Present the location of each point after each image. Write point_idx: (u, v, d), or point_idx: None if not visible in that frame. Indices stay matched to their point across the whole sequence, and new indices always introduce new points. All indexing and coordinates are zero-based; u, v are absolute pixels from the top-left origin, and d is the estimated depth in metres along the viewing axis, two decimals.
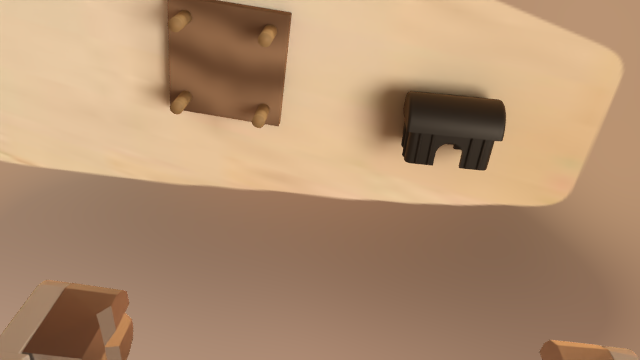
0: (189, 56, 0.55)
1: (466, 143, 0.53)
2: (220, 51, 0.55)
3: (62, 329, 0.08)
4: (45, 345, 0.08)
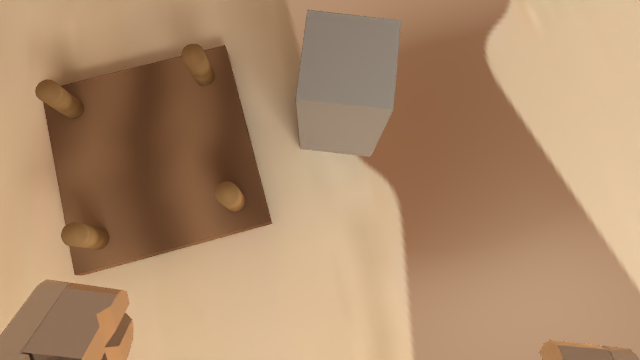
0: (144, 97, 0.34)
1: None
2: (171, 139, 0.34)
3: (62, 329, 0.08)
4: (45, 345, 0.08)
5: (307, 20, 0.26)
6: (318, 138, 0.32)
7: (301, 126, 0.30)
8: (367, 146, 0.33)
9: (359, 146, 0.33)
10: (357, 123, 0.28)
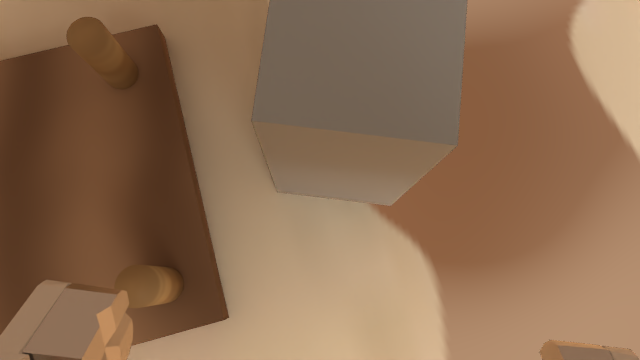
0: (21, 108, 0.21)
1: None
2: (62, 178, 0.20)
3: (62, 329, 0.08)
4: (45, 345, 0.08)
5: None
6: (305, 182, 0.19)
7: (273, 165, 0.17)
8: (389, 194, 0.19)
9: (375, 194, 0.20)
10: (377, 164, 0.15)
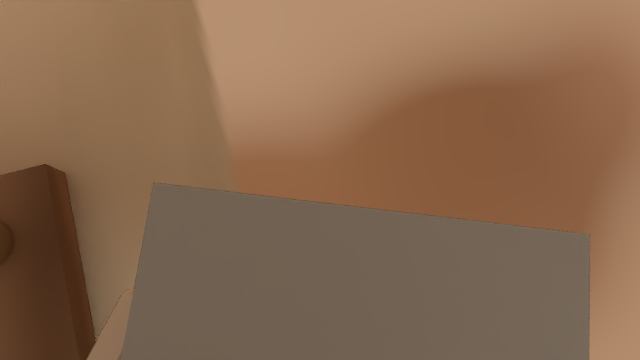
0: None
1: None
2: None
3: None
4: None
5: (150, 238, 0.06)
6: None
7: None
8: None
9: None
10: None
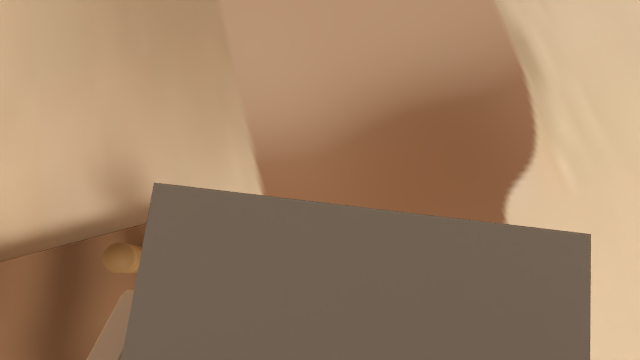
0: (62, 290, 0.26)
1: None
2: None
3: None
4: None
5: (150, 238, 0.06)
6: None
7: None
8: None
9: None
10: None
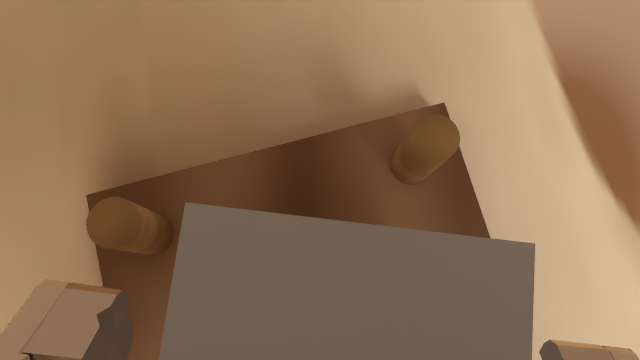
0: (294, 209, 0.17)
1: None
2: None
3: (62, 329, 0.08)
4: (45, 345, 0.08)
5: (183, 247, 0.07)
6: None
7: None
8: None
9: None
10: None
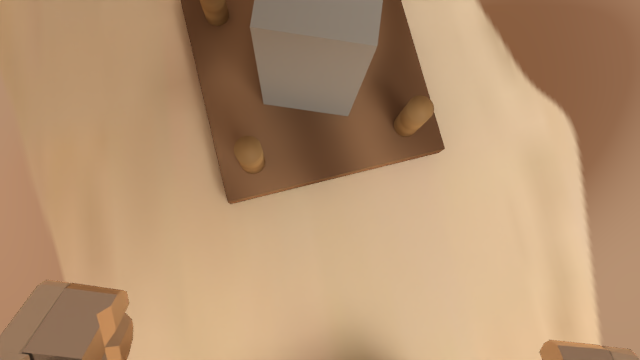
0: None
1: None
2: None
3: (62, 329, 0.08)
4: (45, 345, 0.08)
5: None
6: (283, 90, 0.26)
7: (261, 71, 0.24)
8: (344, 102, 0.27)
9: (335, 102, 0.27)
10: (331, 66, 0.22)
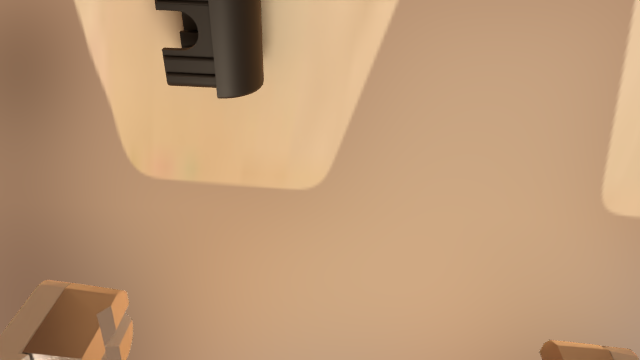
0: None
1: (202, 52, 0.37)
2: None
3: (62, 329, 0.08)
4: (45, 345, 0.08)
5: None
6: None
7: None
8: None
9: None
10: None
